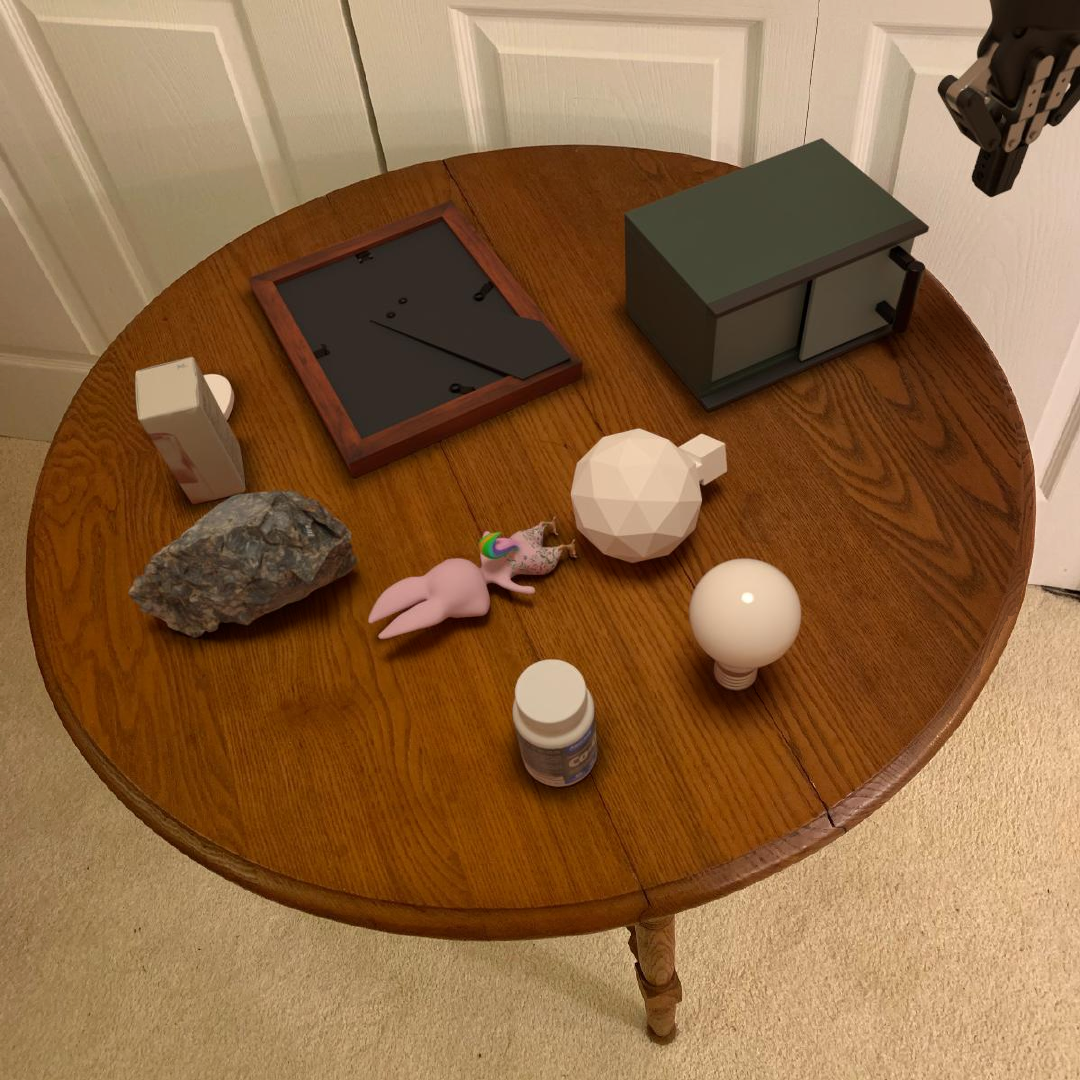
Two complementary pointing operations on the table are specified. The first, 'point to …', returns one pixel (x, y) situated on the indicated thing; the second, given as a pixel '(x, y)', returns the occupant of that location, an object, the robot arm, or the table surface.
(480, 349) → the picture frame
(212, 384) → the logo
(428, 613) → the rabbit figure
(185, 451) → the cream cardboard box
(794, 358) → the cabinet
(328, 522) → the rock
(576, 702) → the pill bottle
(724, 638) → the lightbulb
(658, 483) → the perfume bottle
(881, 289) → the door
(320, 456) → the table surface
